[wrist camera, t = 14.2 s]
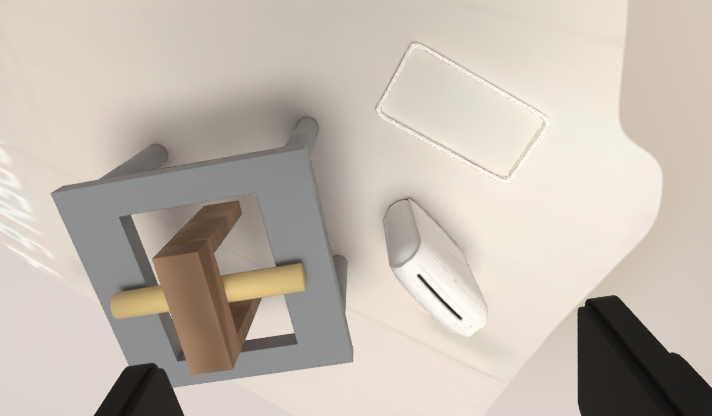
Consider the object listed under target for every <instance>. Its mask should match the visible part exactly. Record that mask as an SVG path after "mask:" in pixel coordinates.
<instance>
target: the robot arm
mask: <svg viewBox="0 0 712 416" xmlns="http://www.w3.org/2000/svg"><path fill="white" fill-rule="evenodd" d="M578 405H579V410H580V413H581V416H712V388H711V387H710V386H709V385H708V383H707V382H706V381H705V380H704V379H703V378H702V377H701V376H700V375H699V374H698V373H697V372H696V371H695V370H694V369H693V368H692V366H691V365H690V364H689V363H688V362H687V361H686V360H685V359H684V358H682V357H681V356H680V355H679V354H676V353H673V352H672V353H669V352H668V351H667V350H666V349H665V348H664V347H663V345H662V344H661V343H660V342H659V341H658V340H657V339H656V338H655V337H654V336H653V335H652V333H651V332H650V331H649V330H648V329H647V328H646V327H645V326H644V325H643V324H642V323H641V321H640V320H639V319H638V318H637V317H636V316H635V315H634V314H633V313H632V311H631V310H630V309H629V308H628V307H627V306H626V305H625V304H624V303H623V302H622V301H621V300H620V298H618V297H617V296H615V295H612V296H605V297H598V298H591V299H587V300H586V302H585V306H584V307H580V308H578ZM94 416H184V414H183V412H182V409H181V407H180V405H179V402H178V400H177V397H176V395H175V393H174V390H173V388H172V386H171V383H170V381H169V378H168V376H167V374H166V372H165V370H164V369H163V368H158V366H157V365H156V364H155V363H146V364H139V365H132V366H128V367H126V368H125V369H124V370H123V372H122V373H121V375H120V377H119V378H118V380H117V381H116V382H115V384H114V386H113V387H112V389H111V390H110V392H109V393H108V395H107V396H106V398H105V399H104V401H103V402H102V404H101V406H100V407H99V408H98V410H97V412H96V413H95V415H94Z"/></svg>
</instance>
